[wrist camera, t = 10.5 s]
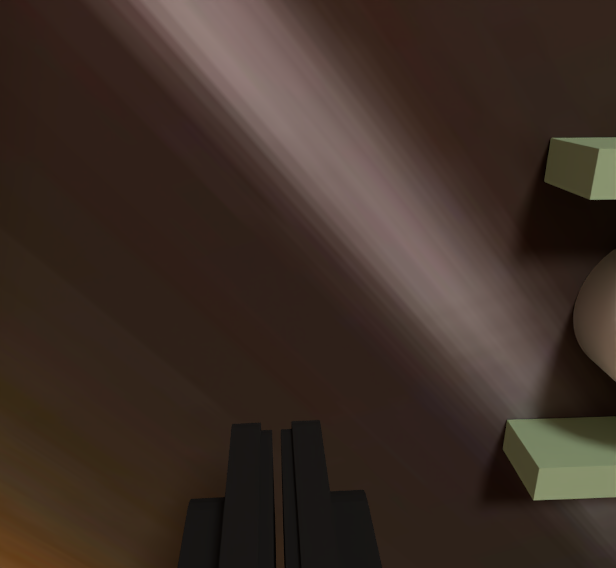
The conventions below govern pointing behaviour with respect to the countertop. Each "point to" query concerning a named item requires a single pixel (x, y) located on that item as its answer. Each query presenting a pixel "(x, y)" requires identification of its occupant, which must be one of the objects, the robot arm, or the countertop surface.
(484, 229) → the countertop surface
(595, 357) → the white domed cylinder
